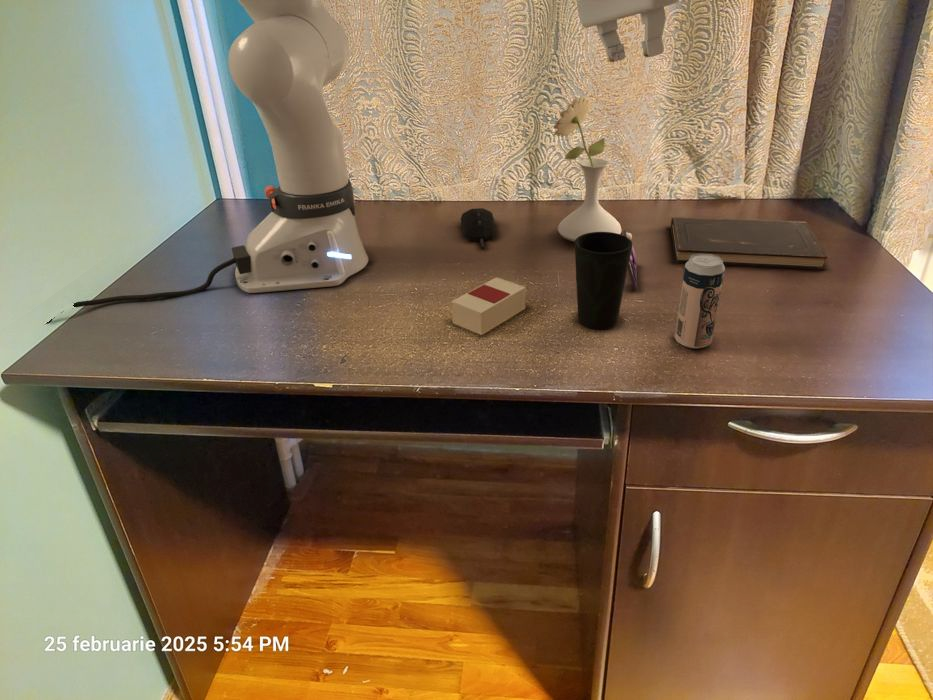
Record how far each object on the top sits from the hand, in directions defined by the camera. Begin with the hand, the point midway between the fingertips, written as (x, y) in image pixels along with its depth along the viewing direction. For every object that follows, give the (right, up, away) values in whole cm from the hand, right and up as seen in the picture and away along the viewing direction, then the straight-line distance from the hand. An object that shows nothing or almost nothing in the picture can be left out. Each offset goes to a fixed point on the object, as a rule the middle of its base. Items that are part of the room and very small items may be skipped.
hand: (634, 58), depth 79 cm
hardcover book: (+28, -17, +37) cm, 49 cm away
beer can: (+11, -34, +11) cm, 37 cm away
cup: (-1, -31, +17) cm, 35 cm away
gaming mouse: (-18, -13, +47) cm, 51 cm away
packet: (-17, -30, +19) cm, 39 cm away
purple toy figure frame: (+5, -23, +28) cm, 37 cm away
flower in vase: (+2, -14, +43) cm, 45 cm away
